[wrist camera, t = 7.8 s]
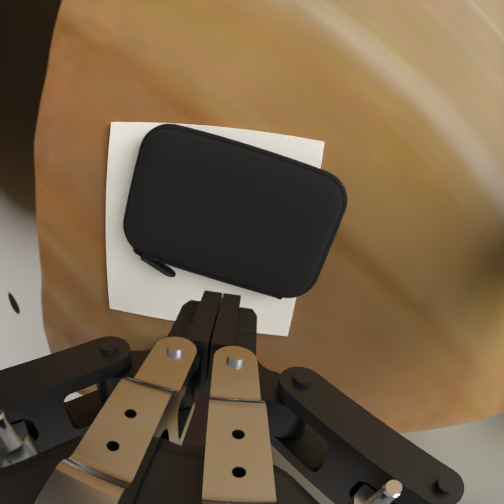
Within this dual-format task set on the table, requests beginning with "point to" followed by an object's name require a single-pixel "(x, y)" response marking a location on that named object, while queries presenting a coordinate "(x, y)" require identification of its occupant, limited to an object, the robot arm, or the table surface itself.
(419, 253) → the table surface
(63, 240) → the table surface
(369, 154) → the table surface
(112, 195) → the cream paper sheet
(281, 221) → the carrying case or bag
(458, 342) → the table surface
